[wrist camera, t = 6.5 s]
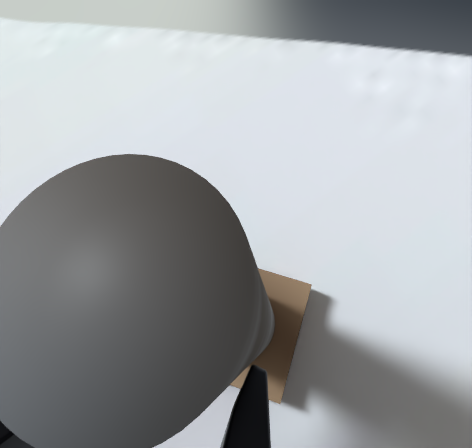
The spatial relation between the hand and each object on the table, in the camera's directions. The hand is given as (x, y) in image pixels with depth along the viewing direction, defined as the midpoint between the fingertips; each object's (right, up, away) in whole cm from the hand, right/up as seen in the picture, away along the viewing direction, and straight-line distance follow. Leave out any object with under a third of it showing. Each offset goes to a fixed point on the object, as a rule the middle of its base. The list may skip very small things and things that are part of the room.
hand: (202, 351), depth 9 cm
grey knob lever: (-9, -4, +7) cm, 12 cm away
